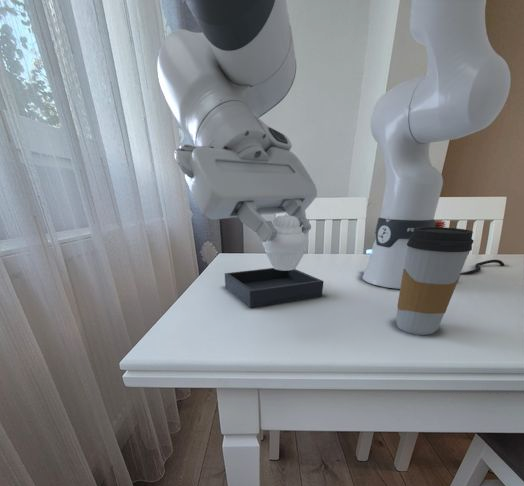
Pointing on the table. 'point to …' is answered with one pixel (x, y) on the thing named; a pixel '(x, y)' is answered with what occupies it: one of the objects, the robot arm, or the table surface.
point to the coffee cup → (430, 276)
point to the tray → (272, 286)
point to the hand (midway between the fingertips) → (289, 235)
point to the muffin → (286, 243)
